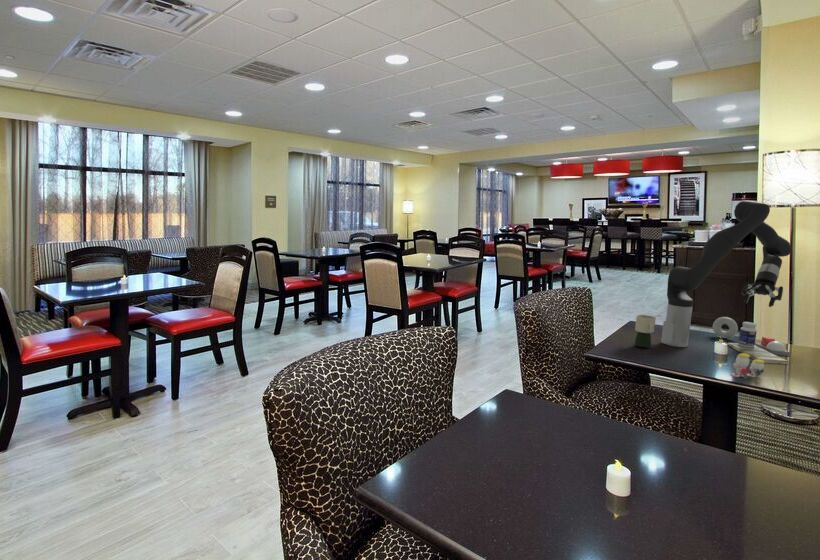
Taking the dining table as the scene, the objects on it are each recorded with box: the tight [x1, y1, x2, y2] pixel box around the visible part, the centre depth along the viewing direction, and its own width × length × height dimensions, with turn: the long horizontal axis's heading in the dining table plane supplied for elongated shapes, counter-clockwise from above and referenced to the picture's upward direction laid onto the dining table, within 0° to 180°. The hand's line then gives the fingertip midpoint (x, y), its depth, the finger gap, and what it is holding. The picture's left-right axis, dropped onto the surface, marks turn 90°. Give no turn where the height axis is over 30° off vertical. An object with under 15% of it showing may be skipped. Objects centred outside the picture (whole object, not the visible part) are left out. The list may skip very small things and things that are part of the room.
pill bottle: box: [737, 321, 758, 347], centre depth 202 cm, size 6×6×10 cm
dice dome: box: [755, 336, 791, 357], centre depth 201 cm, size 12×7×6 cm, turn 174°
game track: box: [727, 342, 789, 365], centre depth 196 cm, size 23×10×1 cm, turn 174°
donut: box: [712, 316, 739, 340], centre depth 218 cm, size 10×4×10 cm, turn 39°
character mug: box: [634, 314, 656, 349], centre depth 198 cm, size 11×7×13 cm, turn 0°
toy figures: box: [730, 352, 766, 378], centre depth 167 cm, size 12×4×8 cm, turn 97°
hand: (757, 304), depth 208 cm, fingers open, 8 cm apart
